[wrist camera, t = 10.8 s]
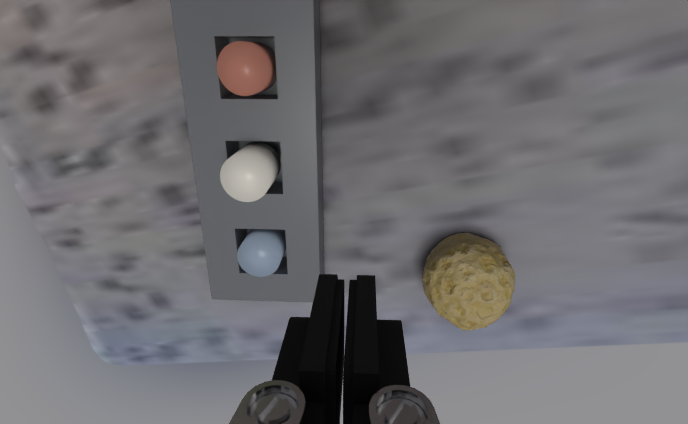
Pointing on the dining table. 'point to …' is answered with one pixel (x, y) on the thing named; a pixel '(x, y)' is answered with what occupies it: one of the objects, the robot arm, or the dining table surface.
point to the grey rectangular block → (256, 140)
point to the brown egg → (247, 67)
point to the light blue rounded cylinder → (262, 251)
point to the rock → (468, 280)
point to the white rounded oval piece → (250, 172)
